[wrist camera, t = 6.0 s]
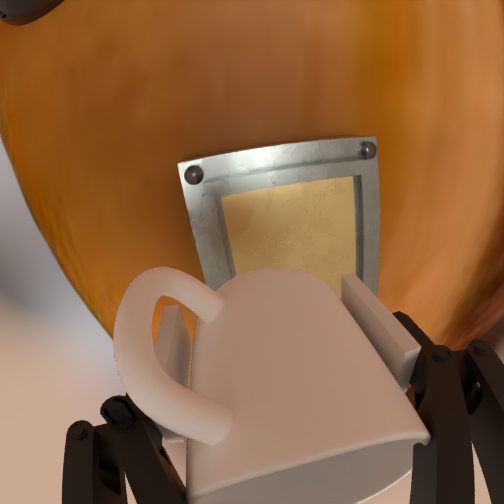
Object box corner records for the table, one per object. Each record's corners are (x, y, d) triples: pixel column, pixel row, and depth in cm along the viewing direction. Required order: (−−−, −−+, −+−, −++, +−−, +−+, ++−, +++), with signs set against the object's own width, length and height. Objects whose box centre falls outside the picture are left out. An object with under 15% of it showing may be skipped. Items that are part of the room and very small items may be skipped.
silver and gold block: (184, 159, 27) (172, 166, 20) (352, 135, 27) (390, 137, 21) (226, 335, 35) (230, 377, 28) (357, 305, 36) (383, 338, 29)
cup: (264, 394, 18) (293, 528, 8) (112, 291, 14) (30, 455, 4) (362, 319, 16) (450, 449, 7) (218, 172, 12) (215, 271, 3)
